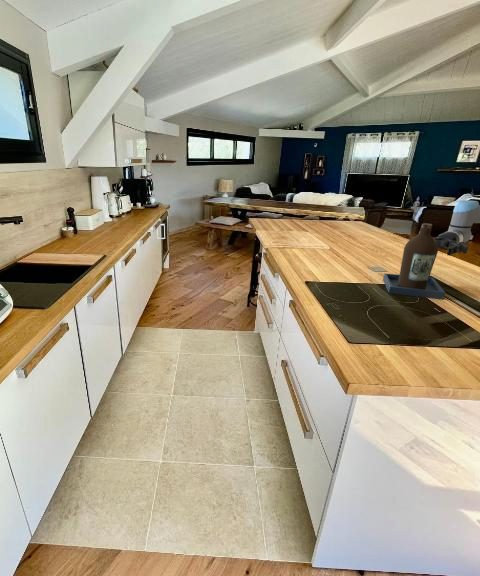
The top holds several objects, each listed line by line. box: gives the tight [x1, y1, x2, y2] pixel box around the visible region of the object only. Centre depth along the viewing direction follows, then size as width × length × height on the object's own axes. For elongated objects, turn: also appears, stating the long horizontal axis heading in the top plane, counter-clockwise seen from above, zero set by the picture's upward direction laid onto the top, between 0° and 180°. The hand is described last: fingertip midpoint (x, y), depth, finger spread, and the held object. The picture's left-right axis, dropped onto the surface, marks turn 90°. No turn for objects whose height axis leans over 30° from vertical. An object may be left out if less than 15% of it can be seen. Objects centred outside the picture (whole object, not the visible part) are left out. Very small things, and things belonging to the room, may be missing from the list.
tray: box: [382, 272, 446, 300], centre depth 125 cm, size 18×17×3 cm
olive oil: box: [398, 223, 439, 290], centre depth 121 cm, size 11×11×25 cm
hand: (428, 248), depth 124 cm, fingers open, 13 cm apart
